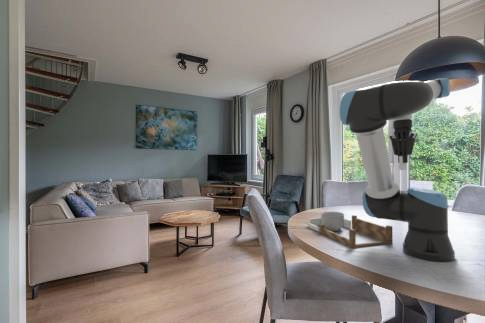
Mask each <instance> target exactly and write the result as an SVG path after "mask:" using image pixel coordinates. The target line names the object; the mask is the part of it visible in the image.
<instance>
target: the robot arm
mask: <svg viewBox="0 0 485 323" xmlns="http://www.w3.org/2000/svg"><path fill="white" fill-rule="evenodd" d="M450 94H451V83H450V79H449V78H448V77H442V78H436V79H430V80H427V81H421V80H404V81H403V80H399V81H398V80H397V81H390V82H386V83H382V84H377V85H372V86H366V87H363V88H362V87H360V88H359V87H358V88H356V89H353V90H349V91H346V92H345V93H344V94H343V95H342V97H341V100H340V105H339V118H340V122H341V124H342V125H344V126H349V129H350V132H351V133H353V134H355V135H356V138H357V143H358V147H359V152H360V155H361V159H362V160H361V161H362V164H363V168H364V172H365V177H366V181H367V186H366V187H365V190H363V192H362V203H361V204H362V208H363V210H364V212H365V213H366V214H367V215H368V216H369V217H370V218H376V219H384V220H391V221H398V222H404V223H407V227H408V228H407V231H406V235H405V238H404V240H403V242H402V251H403V252H404V253H405V254H407V255H409V256H412V257H414V258H417V259H420V260H421V259H422V260H425V261H431V262H452V261H454V260H455V259H456V258H455V254H456V253H455V249H454V247H453V245H452V242H451V240H450V239H451V238H450V237H449V224H448V223H449V222H448V221H449V217H448V216H449V214H448V209H449V204H448V196H447V194H445V193H444V192H441V191H438V190H434V189H427V188H421V187H408V188H407V189H406V190H400V187H399V184H398V183H397V182H395V181H394V179H393V175H392V173H393V172H392V169H391V163H390V158H389V152H388V148H387V142H386V138H385V133H384V128H385V127H386V126H387V124H388V121H393V122H392V126H393V131H394V132H393V134H392V135H390V136H389V139H390V142H391V146H392V150H393V151H392V152H393V155H394V156H397V161H398V169H399V171H407V168H408V167H407V166H408V165H407V164H408V160H409V158H408V157H409V156H411V155H412V154H413V150H414V147H415V146H414V145H415V140H416V138H417V137H418V133H415V132H413V130H412V128H413V120H412V118H413V114H416V113H418V112H421V111H422V110H423V109H426V108H427V107H428V106H429V104H431V102H432V101H433V100H434V99H435V100H436V99H442V98H446V97H449V96H450Z"/></svg>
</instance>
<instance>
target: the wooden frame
mask: <svg viewBox="0 0 485 323" xmlns="http://www.w3.org/2000/svg"><path fill="white" fill-rule="evenodd" d="M357 216H358V215H351V229H349V228H348V237H345V236H343V235H341V234H338V233H336V232H335V231H329V230H327V229H325V225H324V224H320V226H319V227H320V232H319V234H322V235H324V236H326V237H329V238H330V239H333V240H335V241H336V242H338V243H341V244H343V245H345V246H347V247H349V248H351V249H357V248H363V247H372V246H380V245H381V246H382V245H390V244H392V245H393V242H394V241H393V226H392V225H389V224H388V225H385V226H383V225H380V224H377V223H374V222H372V221H371V222H370V221H367V220H364V219H360V218H358V217H357ZM356 232H358V233H360V234H362V235H365V236H369V237H371V238H374V239H377V240H379V241H371V242H362V243H356V241H357V240H356Z"/></svg>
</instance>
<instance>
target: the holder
mask: <svg viewBox="0 0 485 323" xmlns="http://www.w3.org/2000/svg"><path fill="white" fill-rule="evenodd" d="M320 224H322V220H321V217H314V218H313V217H311V218H308V222H307V228H309V229H311V230H314V231H316V232H318V233H320ZM343 228H347V229H348V230H349V229H352V219H349V218H348V219H347V218H345V217H344V226H343Z"/></svg>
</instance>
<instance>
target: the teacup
mask: <svg viewBox="0 0 485 323" xmlns="http://www.w3.org/2000/svg"><path fill="white" fill-rule="evenodd" d="M320 215H321V217H320V218H321V220H322V224H324V225H325V229H327V230H329V231H332V232H339V231H341V230H342V229H343V228H344V218H345V213H344V212H340V211H323V212H321V214H320Z"/></svg>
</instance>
